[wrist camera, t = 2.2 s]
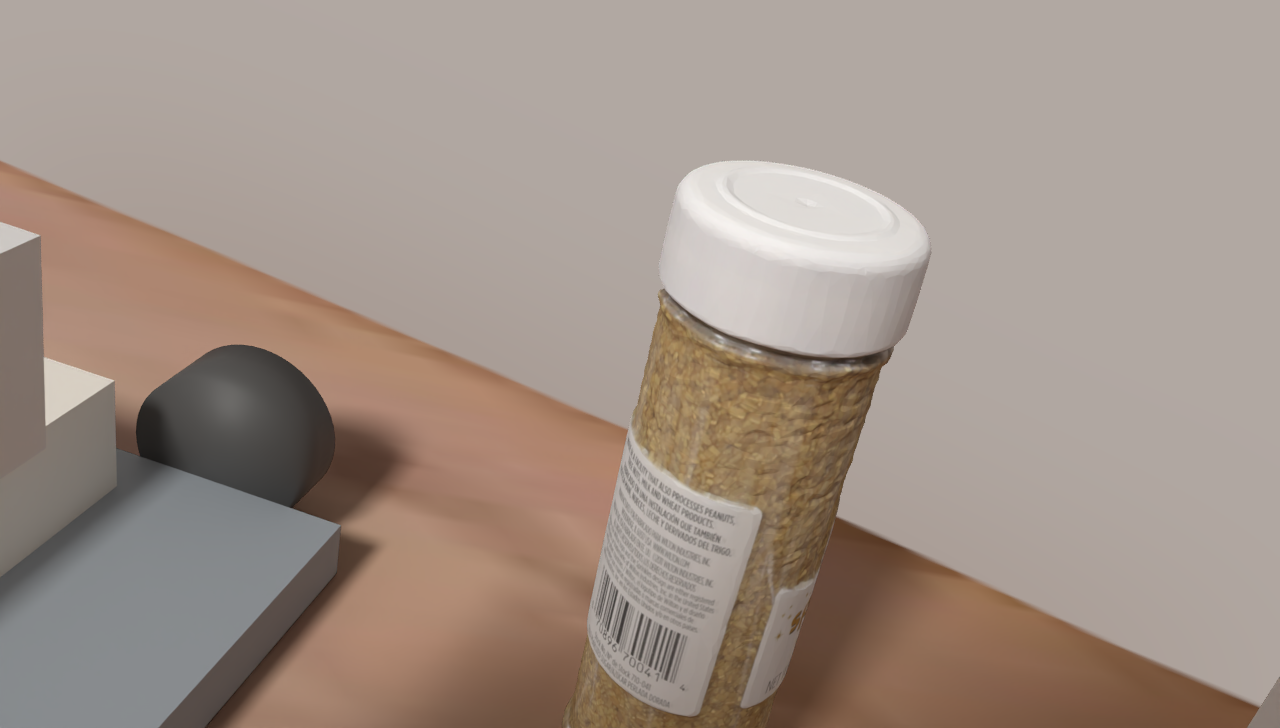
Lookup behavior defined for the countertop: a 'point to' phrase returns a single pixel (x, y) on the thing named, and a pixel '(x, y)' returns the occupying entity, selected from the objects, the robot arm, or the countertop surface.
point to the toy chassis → (160, 543)
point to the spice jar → (741, 439)
